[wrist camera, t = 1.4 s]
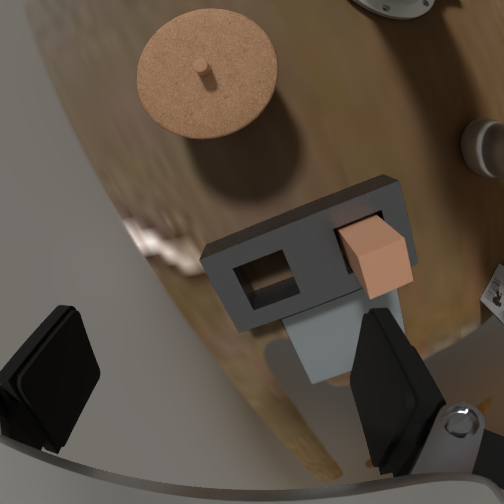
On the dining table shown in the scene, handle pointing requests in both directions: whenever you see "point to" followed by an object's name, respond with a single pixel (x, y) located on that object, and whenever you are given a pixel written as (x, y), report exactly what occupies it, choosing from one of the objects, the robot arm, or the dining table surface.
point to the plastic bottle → (484, 147)
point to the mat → (334, 331)
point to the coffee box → (495, 294)
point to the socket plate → (301, 253)
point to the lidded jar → (207, 74)
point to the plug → (375, 254)
